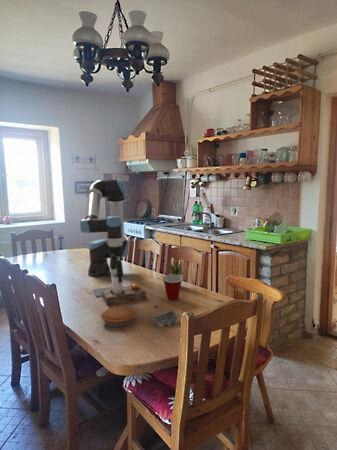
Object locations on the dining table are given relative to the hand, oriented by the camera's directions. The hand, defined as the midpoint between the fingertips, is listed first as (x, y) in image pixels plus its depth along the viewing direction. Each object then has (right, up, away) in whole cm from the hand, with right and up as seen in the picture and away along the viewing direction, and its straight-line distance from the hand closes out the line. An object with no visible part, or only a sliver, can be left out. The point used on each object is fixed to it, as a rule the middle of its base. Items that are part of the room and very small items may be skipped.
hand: (116, 284), depth 170 cm
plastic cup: (+30, -8, 0) cm, 31 cm away
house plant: (+34, -5, +19) cm, 39 cm away
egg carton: (+27, -12, -28) cm, 40 cm away
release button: (+9, -6, +5) cm, 12 cm away
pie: (+5, -12, -26) cm, 29 cm away
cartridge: (0, -8, +1) cm, 8 cm away
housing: (+3, -8, +3) cm, 9 cm away
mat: (-9, -7, +13) cm, 17 cm away
